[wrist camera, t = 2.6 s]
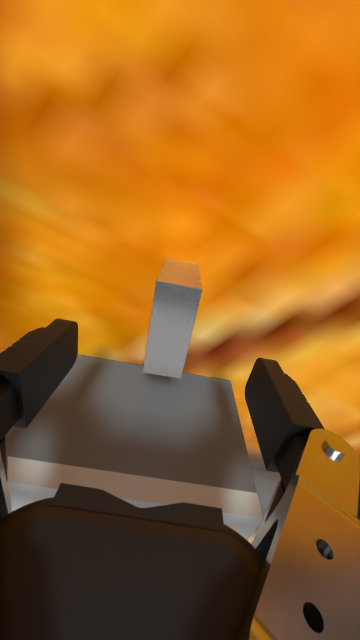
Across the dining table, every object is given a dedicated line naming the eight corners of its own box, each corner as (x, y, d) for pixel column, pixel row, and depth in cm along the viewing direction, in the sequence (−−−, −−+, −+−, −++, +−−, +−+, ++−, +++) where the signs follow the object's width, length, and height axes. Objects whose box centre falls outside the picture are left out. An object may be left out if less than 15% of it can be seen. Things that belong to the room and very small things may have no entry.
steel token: (166, 257, 14) (156, 280, 10) (198, 263, 14) (202, 289, 10) (155, 327, 17) (143, 372, 12) (182, 332, 17) (180, 378, 12)
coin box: (64, 352, 18) (-40, 475, 10) (230, 380, 18) (262, 518, 10) (69, 475, 25) (11, 605, 17) (189, 492, 25) (189, 626, 17)
